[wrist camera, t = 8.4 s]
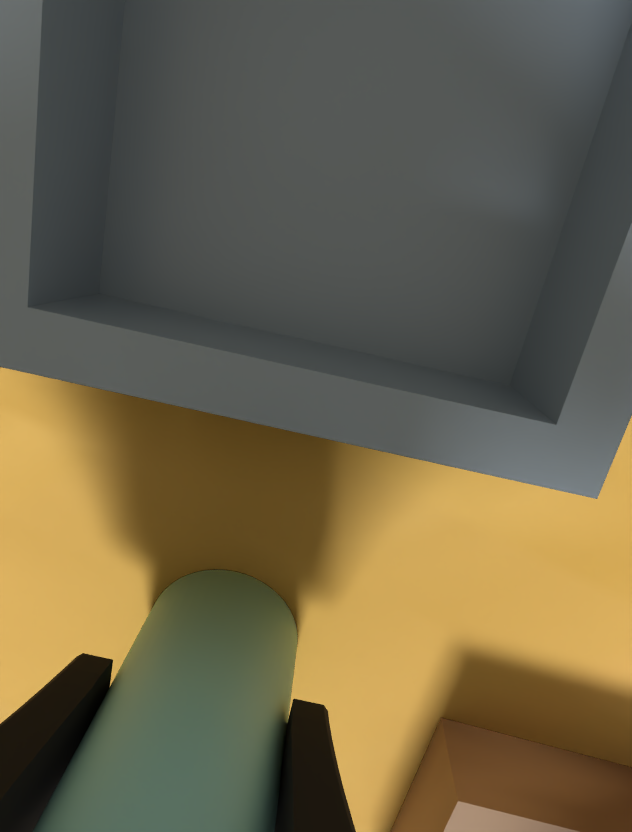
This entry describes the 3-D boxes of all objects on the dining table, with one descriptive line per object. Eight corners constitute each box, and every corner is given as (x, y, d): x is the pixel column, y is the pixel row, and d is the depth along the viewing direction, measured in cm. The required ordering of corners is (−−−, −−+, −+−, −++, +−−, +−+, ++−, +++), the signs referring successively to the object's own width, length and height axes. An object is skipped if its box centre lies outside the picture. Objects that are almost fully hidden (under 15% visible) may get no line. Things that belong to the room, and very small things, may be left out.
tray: (755, -177, 8) (967, -399, 5) (534, 436, 11) (597, 498, 8) (101, -333, 8) (-28, -640, 5) (57, 330, 11) (-42, 358, 8)
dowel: (311, 587, 12) (258, 1119, 5) (282, 707, 14) (201, 1295, 6) (158, 555, 12) (-138, 1041, 5) (141, 678, 14) (-121, 1233, 6)
